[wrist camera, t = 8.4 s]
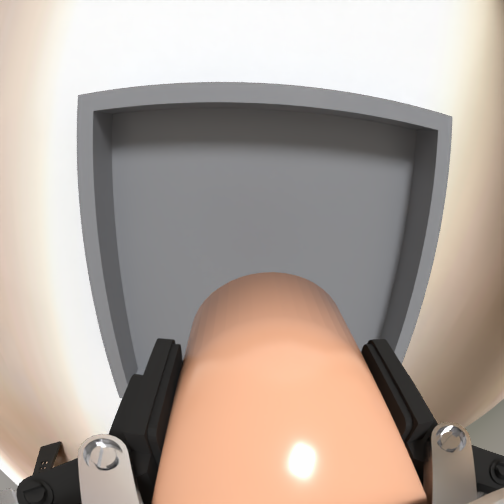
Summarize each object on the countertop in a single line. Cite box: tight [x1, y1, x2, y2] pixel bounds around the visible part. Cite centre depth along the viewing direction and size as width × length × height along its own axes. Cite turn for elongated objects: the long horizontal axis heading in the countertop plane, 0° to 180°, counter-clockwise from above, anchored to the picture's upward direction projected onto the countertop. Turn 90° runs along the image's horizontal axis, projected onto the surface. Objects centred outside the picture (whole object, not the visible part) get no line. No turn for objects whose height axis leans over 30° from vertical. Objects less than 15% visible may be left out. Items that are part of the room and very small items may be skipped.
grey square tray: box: [77, 82, 452, 398], centre depth 18 cm, size 20×20×4 cm
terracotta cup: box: [152, 272, 428, 504], centre depth 8 cm, size 6×6×8 cm
